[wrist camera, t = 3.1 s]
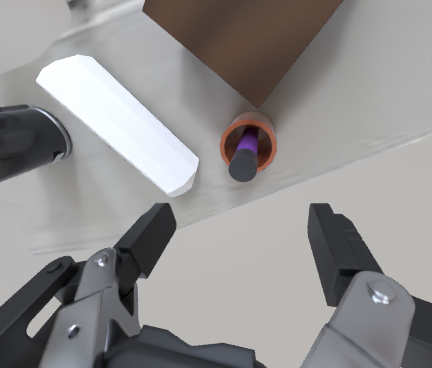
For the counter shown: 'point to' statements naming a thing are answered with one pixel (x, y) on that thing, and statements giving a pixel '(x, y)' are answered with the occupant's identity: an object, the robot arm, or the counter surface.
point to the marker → (245, 157)
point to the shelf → (244, 36)
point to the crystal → (120, 121)
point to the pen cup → (265, 138)
